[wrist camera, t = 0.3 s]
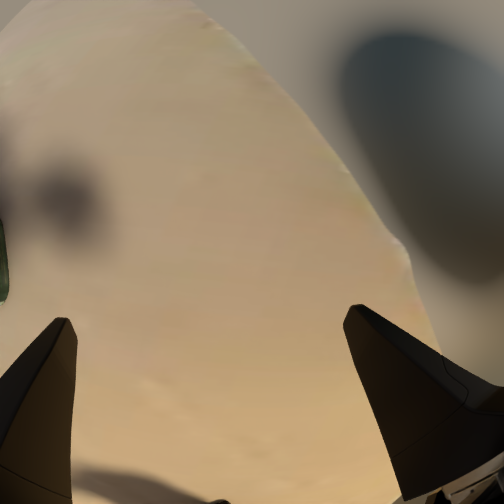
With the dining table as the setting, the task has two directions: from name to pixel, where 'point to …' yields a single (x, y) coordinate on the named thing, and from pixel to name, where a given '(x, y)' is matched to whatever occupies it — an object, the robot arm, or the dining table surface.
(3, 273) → the coffee jar
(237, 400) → the dining table surface
